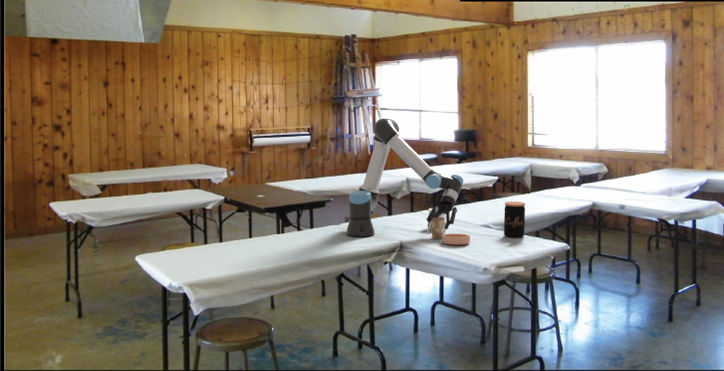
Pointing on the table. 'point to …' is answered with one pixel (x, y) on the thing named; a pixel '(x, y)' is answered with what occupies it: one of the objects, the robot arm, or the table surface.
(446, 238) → the bowl
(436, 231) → the canister
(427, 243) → the table surface
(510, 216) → the coffee jar
